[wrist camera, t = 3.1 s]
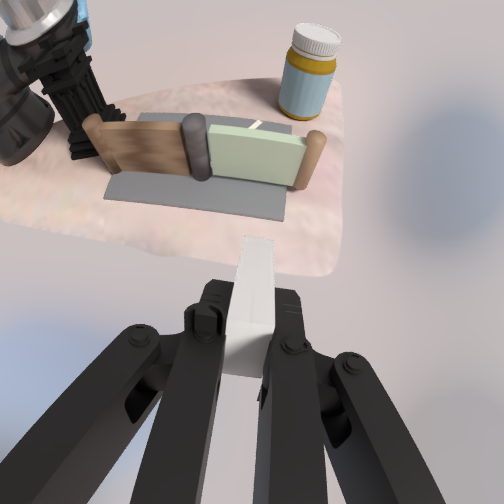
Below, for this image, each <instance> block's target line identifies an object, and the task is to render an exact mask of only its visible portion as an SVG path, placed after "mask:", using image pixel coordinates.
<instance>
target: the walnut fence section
mask: <svg viewBox="0 0 504 504" xmlns="http://www.w3.org/2000/svg"><path fill="white" fill-rule="evenodd" d="M82 127H83V129H84V130H85V132H86V134H87V135H88V137H89V139H90V140H91V142H92V144H93V145H94V147H95V149H96V150H97V152H98V153H99V155H100V157H101V158H102V160H103V161H104V163H105V165H106V166H107V168H108V169H109V171H110V172H111V173H112V174H118V173H120V172H121V171H130V172H145V173H158V174H170V175H181V176H190V175H191V171H192V172H193V176H194V178H195V180H197V181H200V182H203V181H206V180H208V179H209V178H210V177H211V174H212V172H211V164H210V155H209V146H208V137H207V128H206V119H205V116H204V115H202V114H200V113H191V114H188V115H187V116H185V117H184V118H183V120H182V122H158V121H122V122H103V121H102V119H101V117H100V115H99V114H92V115H89V116H88V117H87V118H86V119H85V120H84V121H83V123H82Z"/></svg>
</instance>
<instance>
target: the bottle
mask: <svg viewBox="0 0 504 504" xmlns="http://www.w3.org/2000/svg"><path fill="white" fill-rule="evenodd" d="M340 44H341V36H340V35H339V34H338V33H337V32H335V31H334V30H332V29H330V28H327V27H324V26H322V25H318V24H312V23H302V24H298V25H297V26H296V27H295V29H294V34H293V41H292V46H291V47H290V49H289V50H288V52H287V55H286V61H285V67H284V72H283V77H282V83H281V88H280V94H279V99H278V104H279V107H280V109H281V110H282V111H283V112H284V113H285V114H286V115H288V116H289V117H291V118H294V119H297V120H309V119H313V118H315V117H317V116H318V115H319V114H320V112H321V109H322V107H323V104H324V101H325V98H326V95H327V92H328V89H329V86H330V84H331V81H332V78H333V75H334V72H335V68H336V55H337V52H338V50H339V47H340Z"/></svg>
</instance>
